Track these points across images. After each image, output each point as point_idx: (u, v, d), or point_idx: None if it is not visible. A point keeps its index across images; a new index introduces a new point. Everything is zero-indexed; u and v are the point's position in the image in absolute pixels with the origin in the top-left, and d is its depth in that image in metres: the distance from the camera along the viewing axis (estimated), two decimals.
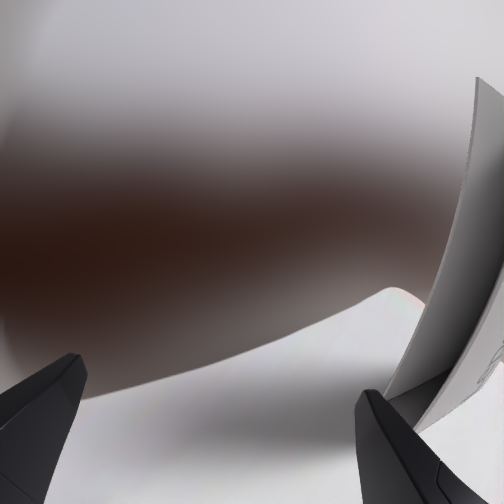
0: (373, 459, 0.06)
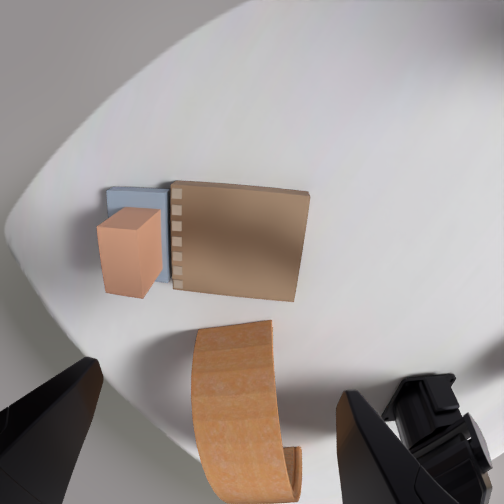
0: (352, 461, 0.06)
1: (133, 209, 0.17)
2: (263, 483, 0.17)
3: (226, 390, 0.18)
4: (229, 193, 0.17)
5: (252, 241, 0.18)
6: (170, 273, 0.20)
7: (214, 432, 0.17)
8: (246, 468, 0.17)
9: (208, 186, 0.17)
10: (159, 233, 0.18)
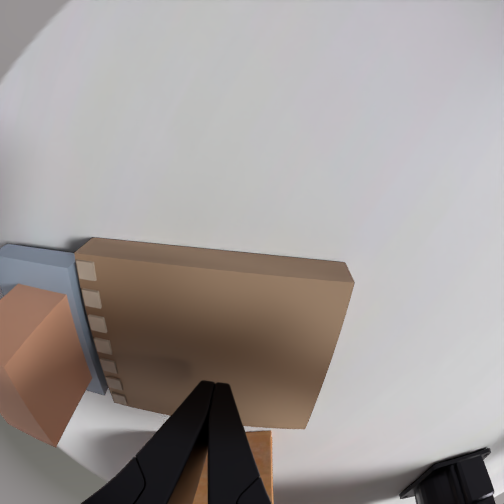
0: None
1: (26, 292, 0.08)
2: None
3: None
4: (183, 275, 0.08)
5: (235, 358, 0.09)
6: None
7: None
8: None
9: (141, 259, 0.08)
10: (72, 333, 0.09)
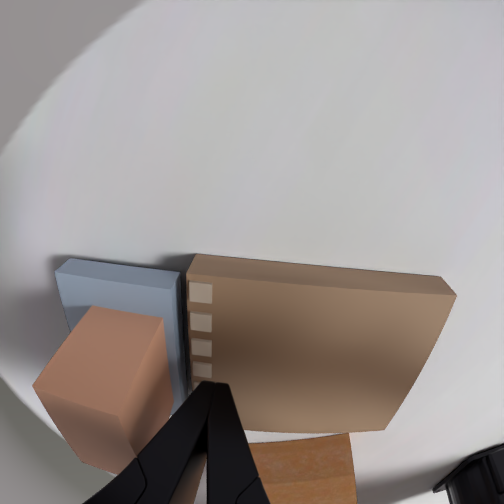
0: None
1: (108, 316, 0.08)
2: None
3: None
4: (317, 295, 0.08)
5: (345, 370, 0.09)
6: None
7: None
8: None
9: (271, 279, 0.08)
10: (165, 358, 0.09)
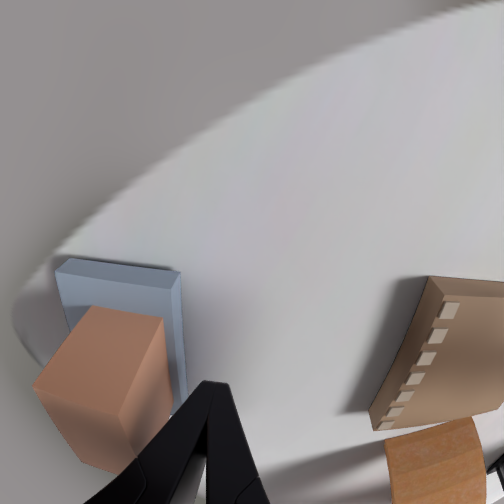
0: None
1: (108, 316, 0.08)
2: None
3: None
4: None
5: (501, 360, 0.09)
6: (185, 400, 0.11)
7: None
8: None
9: (489, 295, 0.08)
10: (165, 358, 0.09)
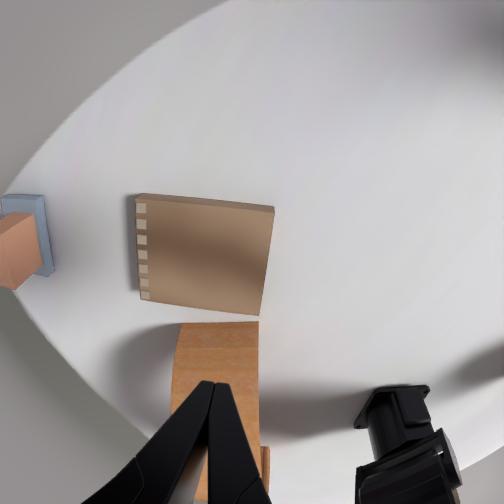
0: None
1: (16, 214, 0.17)
2: None
3: None
4: (192, 208, 0.17)
5: (216, 256, 0.18)
6: (50, 268, 0.20)
7: None
8: None
9: (171, 201, 0.17)
10: (34, 234, 0.18)
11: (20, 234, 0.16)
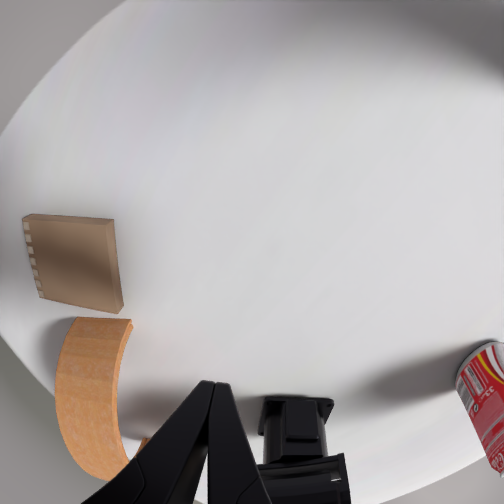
0: None
1: None
2: (106, 462, 0.17)
3: (79, 372, 0.19)
4: (54, 225, 0.18)
5: (75, 263, 0.20)
6: None
7: (68, 406, 0.18)
8: (91, 444, 0.17)
9: (42, 219, 0.18)
10: None
11: None
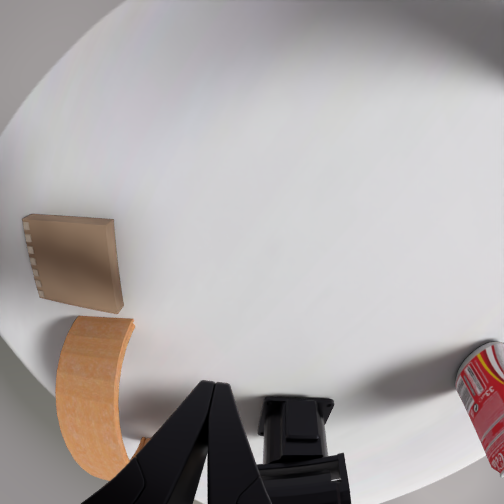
0: None
1: None
2: (107, 461, 0.17)
3: (80, 372, 0.19)
4: (54, 225, 0.18)
5: (75, 263, 0.20)
6: None
7: (68, 405, 0.18)
8: (91, 444, 0.17)
9: (42, 220, 0.18)
10: None
11: None
